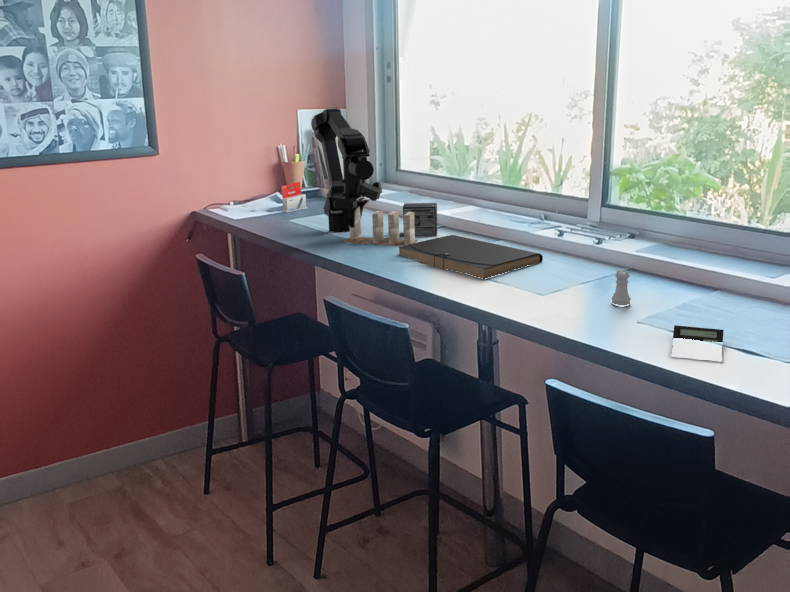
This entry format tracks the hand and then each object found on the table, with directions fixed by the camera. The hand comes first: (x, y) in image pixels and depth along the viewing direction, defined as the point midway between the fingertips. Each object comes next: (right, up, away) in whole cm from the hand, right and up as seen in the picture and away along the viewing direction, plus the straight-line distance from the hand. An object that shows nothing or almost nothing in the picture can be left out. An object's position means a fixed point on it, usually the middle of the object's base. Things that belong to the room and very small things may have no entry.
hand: (355, 225), depth 250 cm
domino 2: (+7, -5, -1) cm, 9 cm away
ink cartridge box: (-25, +10, +53) cm, 60 cm away
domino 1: (0, -3, +1) cm, 4 cm away
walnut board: (+8, -6, -1) cm, 10 cm away
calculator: (+72, -33, -90) cm, 120 cm away
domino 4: (+17, -5, -4) cm, 18 cm away
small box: (+20, -3, +7) cm, 22 cm away
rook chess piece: (+64, -24, -63) cm, 93 cm away
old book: (+33, -12, -22) cm, 41 cm away
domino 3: (+12, -5, -3) cm, 13 cm away
